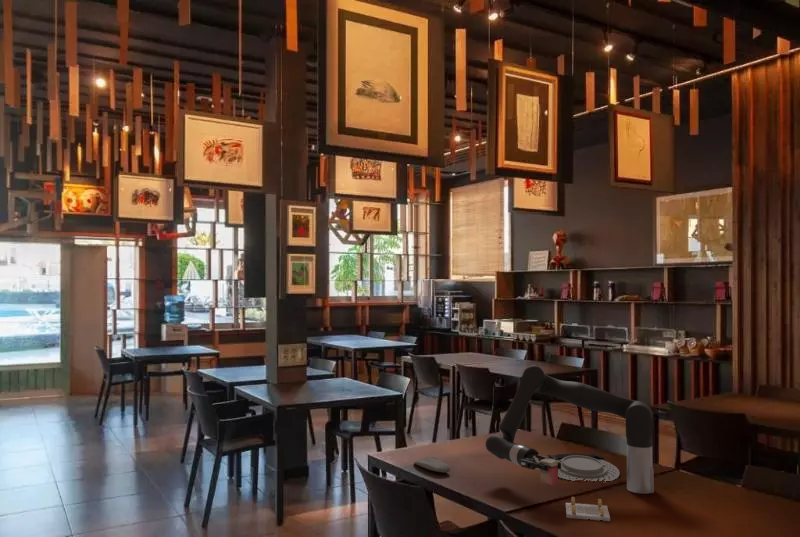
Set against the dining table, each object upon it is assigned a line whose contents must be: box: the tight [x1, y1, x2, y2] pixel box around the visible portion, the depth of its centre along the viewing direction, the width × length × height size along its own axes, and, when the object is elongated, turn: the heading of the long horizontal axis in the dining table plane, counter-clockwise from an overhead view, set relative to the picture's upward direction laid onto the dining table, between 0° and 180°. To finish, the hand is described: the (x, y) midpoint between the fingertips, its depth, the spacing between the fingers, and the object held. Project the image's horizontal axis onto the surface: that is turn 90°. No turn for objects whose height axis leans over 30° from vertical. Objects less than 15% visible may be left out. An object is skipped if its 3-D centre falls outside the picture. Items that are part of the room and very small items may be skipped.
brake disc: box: [546, 453, 621, 483], centre depth 273 cm, size 32×30×5 cm
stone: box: [413, 456, 451, 473], centre depth 276 cm, size 24×4×10 cm
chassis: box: [565, 496, 611, 522], centre depth 222 cm, size 14×12×4 cm
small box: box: [539, 458, 559, 486], centre depth 231 cm, size 5×4×8 cm
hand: (553, 467), depth 229 cm, fingers closed on small box, 5 cm apart
